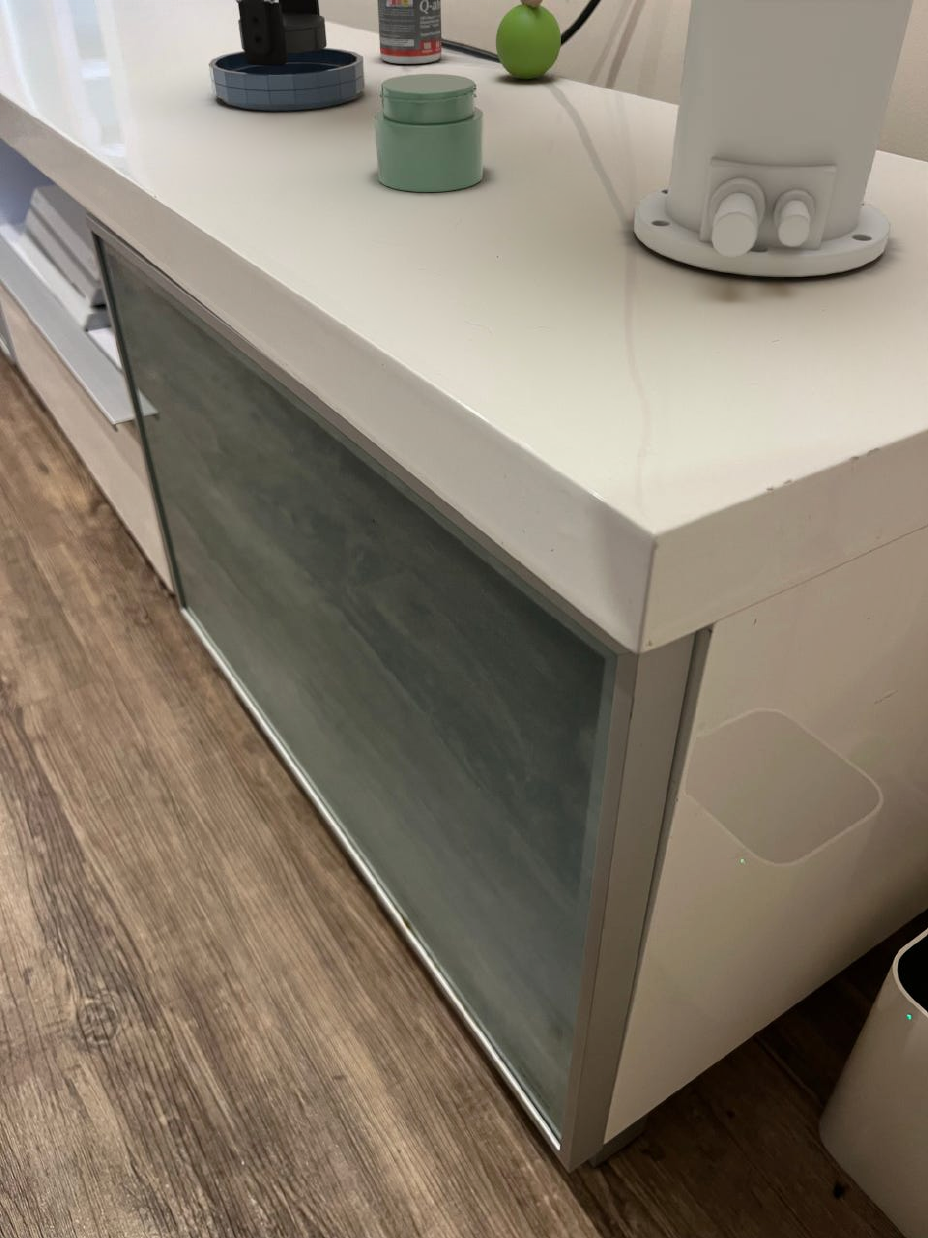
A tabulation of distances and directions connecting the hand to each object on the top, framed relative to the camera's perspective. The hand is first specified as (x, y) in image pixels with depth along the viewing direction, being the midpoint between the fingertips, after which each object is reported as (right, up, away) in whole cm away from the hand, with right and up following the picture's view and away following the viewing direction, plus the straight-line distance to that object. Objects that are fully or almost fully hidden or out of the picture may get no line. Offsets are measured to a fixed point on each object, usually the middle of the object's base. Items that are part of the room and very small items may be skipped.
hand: (285, 53), depth 74 cm
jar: (+12, -17, -16) cm, 27 cm away
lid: (0, +1, -1) cm, 2 cm away
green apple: (+19, +2, +7) cm, 21 cm away
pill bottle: (+9, +7, +14) cm, 18 cm away
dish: (0, -2, +2) cm, 3 cm away
